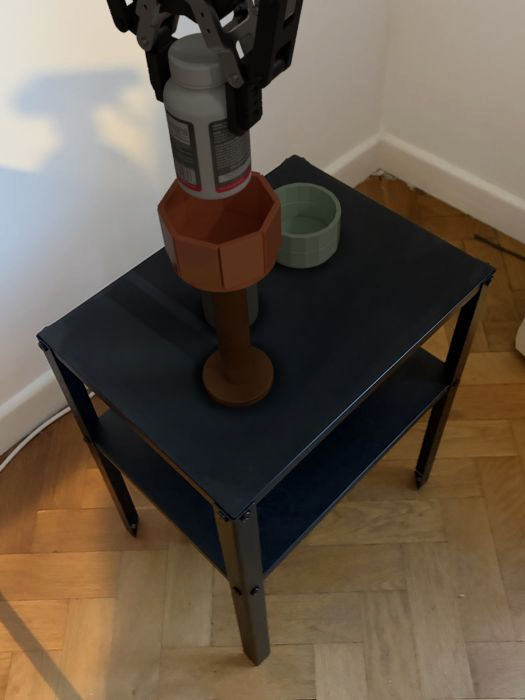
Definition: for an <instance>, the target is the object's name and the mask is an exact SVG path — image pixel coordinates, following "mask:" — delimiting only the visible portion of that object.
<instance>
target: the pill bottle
mask: <svg viewBox="0 0 525 700" xmlns="http://www.w3.org/2000/svg"><path fill="white" fill-rule="evenodd" d="M168 59H169V67H170V72H171V77H170V78H169V79H168V81H167V82H166V84H165V87H164V91H163V102H164V103H163V106H164V112H165V117H166V122H167V123H166V124H167V129H168V135H169V143H170V148H171V153H172V159H173V167H174V171H175V177H176V178H177V181H178V184H179V185H180V187H181V188H182V189H183V190H184V191H185V192H186V193H188V194H190V195H191V196H193V197H196V198H200V199H206V200H216V199H222V198H227V197H229V196H232V195H234V194H236V193H238V192H240V191H241V190H242V189H243V188H244V187H245V186H246V185H247V183H248V182H249V180H250V178H251V174H252V171H253V169H252V167H253V165H252V149H251V147H252V146H251V128H250V129H249V130H248V131H247V132H246V133H245V134H243V135H242V136H241V137H239V136H236V135H234V134H232V133H230V132H229V130H228V119H227V107H226V96H225V83H226V82H228V81H227V79H226V76H225V73H224V71H223V68H222V66H221V63H220V61H219V58H218V56H217V53H216V52H215V51H211V50H209V49H208V48H207V46H206V43H205V41H204V38H203V36H202V33H201V32H196V33H191V34H190V33H189V34H187V35H184V36H182V37H180V38H178V40H176V41H175V42H174V43H173V44H172V45H171V47H170V48H169V51H168Z"/></svg>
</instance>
